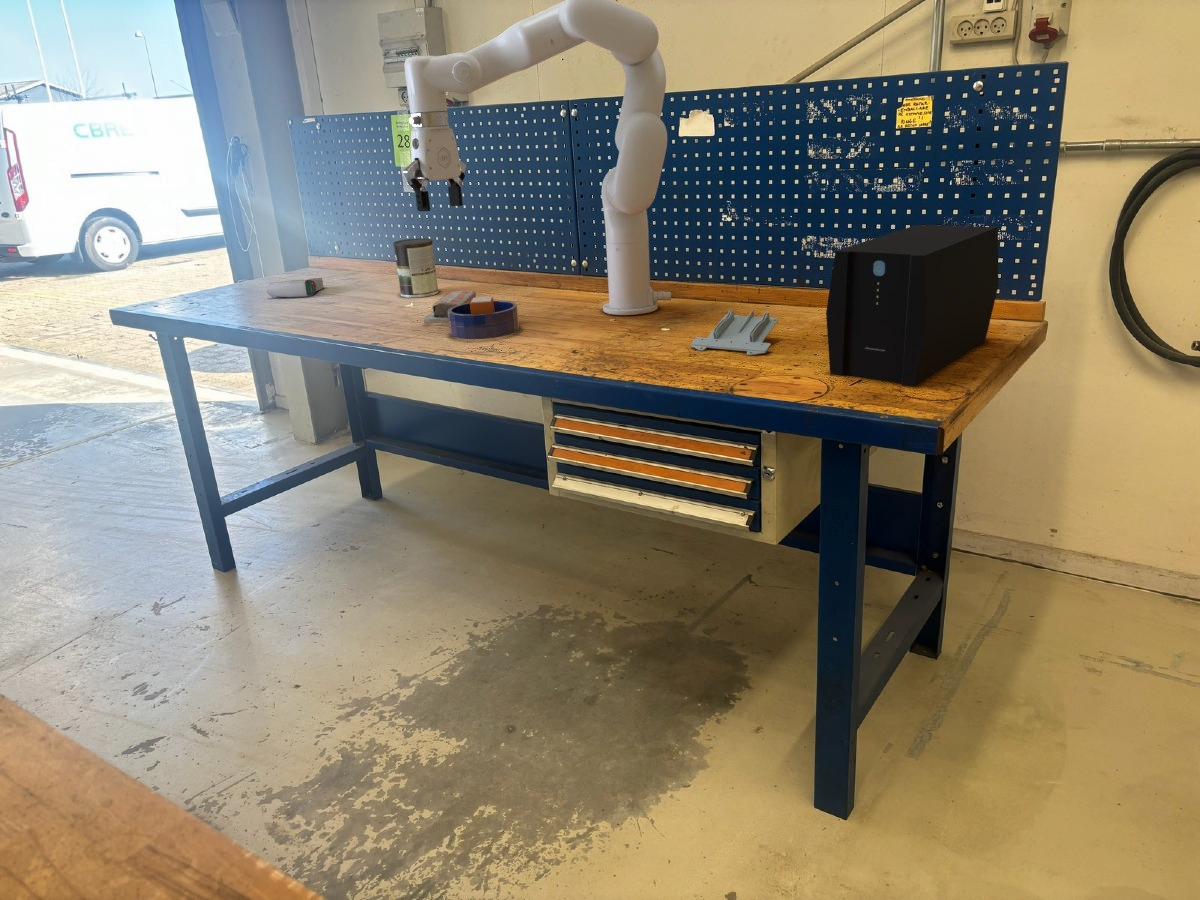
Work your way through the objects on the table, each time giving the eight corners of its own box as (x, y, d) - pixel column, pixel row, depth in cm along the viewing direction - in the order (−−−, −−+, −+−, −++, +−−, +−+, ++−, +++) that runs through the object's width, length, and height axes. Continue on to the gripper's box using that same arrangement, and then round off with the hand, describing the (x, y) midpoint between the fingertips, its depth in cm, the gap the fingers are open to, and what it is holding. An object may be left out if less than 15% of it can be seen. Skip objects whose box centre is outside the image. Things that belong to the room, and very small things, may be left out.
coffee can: (394, 298, 226) (387, 244, 221) (408, 290, 235) (400, 238, 230) (432, 297, 224) (425, 243, 219) (444, 289, 234) (437, 237, 229)
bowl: (521, 323, 189) (519, 298, 187) (516, 339, 176) (514, 312, 174) (456, 327, 189) (452, 302, 187) (446, 343, 176) (443, 317, 174)
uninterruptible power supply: (823, 372, 141) (828, 250, 134) (906, 329, 164) (914, 223, 157) (921, 387, 131) (932, 256, 124) (995, 339, 154) (1008, 225, 147)
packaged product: (442, 289, 207) (482, 287, 206) (445, 308, 209) (484, 307, 208) (420, 304, 191) (464, 303, 189) (423, 325, 192) (466, 324, 191)
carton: (496, 326, 184) (493, 296, 182) (494, 332, 180) (490, 300, 177) (476, 328, 185) (472, 297, 182) (473, 333, 180) (469, 302, 177)
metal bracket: (717, 303, 168) (790, 308, 160) (720, 329, 171) (792, 335, 164) (686, 340, 159) (762, 346, 151) (690, 366, 162) (765, 374, 155)
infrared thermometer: (327, 290, 249) (310, 297, 235) (286, 292, 249) (267, 299, 235) (325, 274, 248) (307, 280, 233) (284, 276, 248) (264, 282, 234)
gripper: (412, 123, 166) (423, 213, 172) (472, 119, 179) (481, 204, 185) (385, 124, 170) (398, 213, 176) (446, 121, 183) (455, 203, 189)
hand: (440, 208), depth 181 cm, fingers open, 9 cm apart
